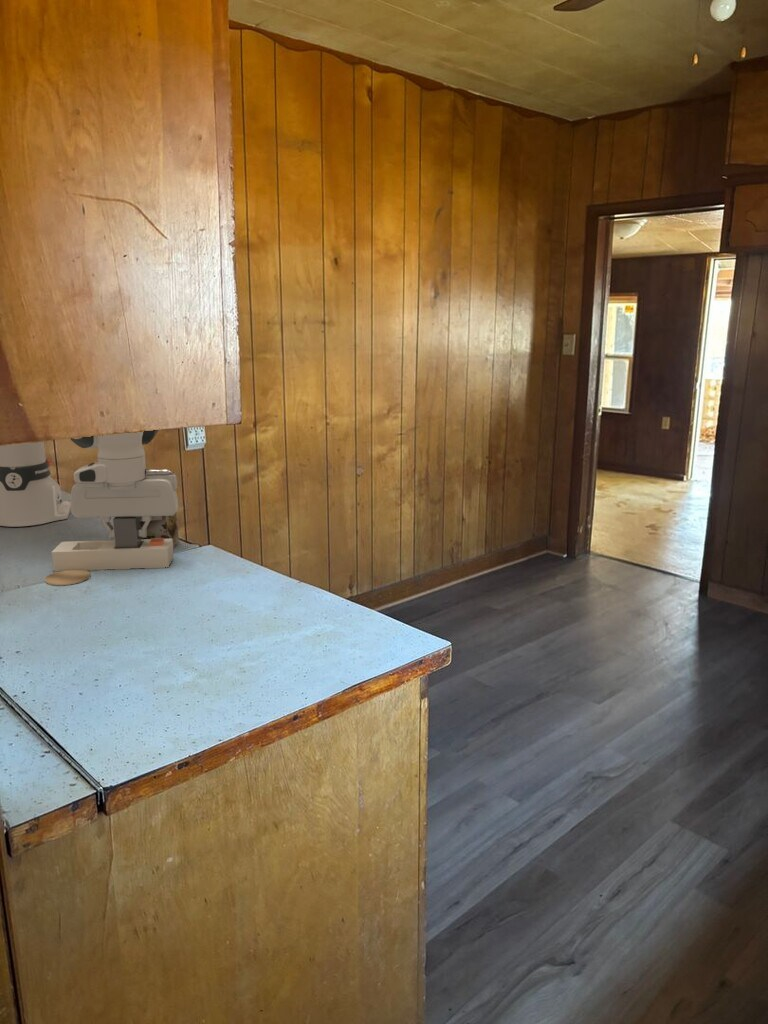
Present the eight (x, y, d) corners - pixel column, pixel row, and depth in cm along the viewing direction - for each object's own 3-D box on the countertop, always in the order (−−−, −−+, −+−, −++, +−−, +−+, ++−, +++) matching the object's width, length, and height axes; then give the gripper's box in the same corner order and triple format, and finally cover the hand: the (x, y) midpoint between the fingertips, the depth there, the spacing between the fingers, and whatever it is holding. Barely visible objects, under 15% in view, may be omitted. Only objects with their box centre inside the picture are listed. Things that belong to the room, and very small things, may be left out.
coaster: (52, 572, 147) (52, 570, 147) (95, 570, 148) (94, 569, 148) (39, 586, 139) (39, 584, 139) (84, 585, 140) (84, 582, 140)
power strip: (53, 571, 147) (50, 548, 146) (64, 560, 154) (61, 537, 153) (168, 567, 150) (166, 544, 149) (173, 556, 157) (172, 534, 155)
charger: (120, 546, 153) (117, 513, 152) (141, 546, 154) (139, 512, 152) (116, 553, 149) (113, 518, 148) (137, 552, 150) (135, 518, 148)
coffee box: (167, 555, 158) (162, 480, 154) (137, 554, 158) (131, 479, 154) (180, 542, 167) (175, 471, 163) (151, 542, 167) (145, 470, 163)
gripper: (179, 465, 152) (183, 531, 155) (73, 467, 149) (80, 534, 153) (174, 472, 146) (178, 540, 149) (64, 474, 143) (71, 543, 147)
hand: (128, 537), depth 151 cm, fingers closed on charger, 4 cm apart
